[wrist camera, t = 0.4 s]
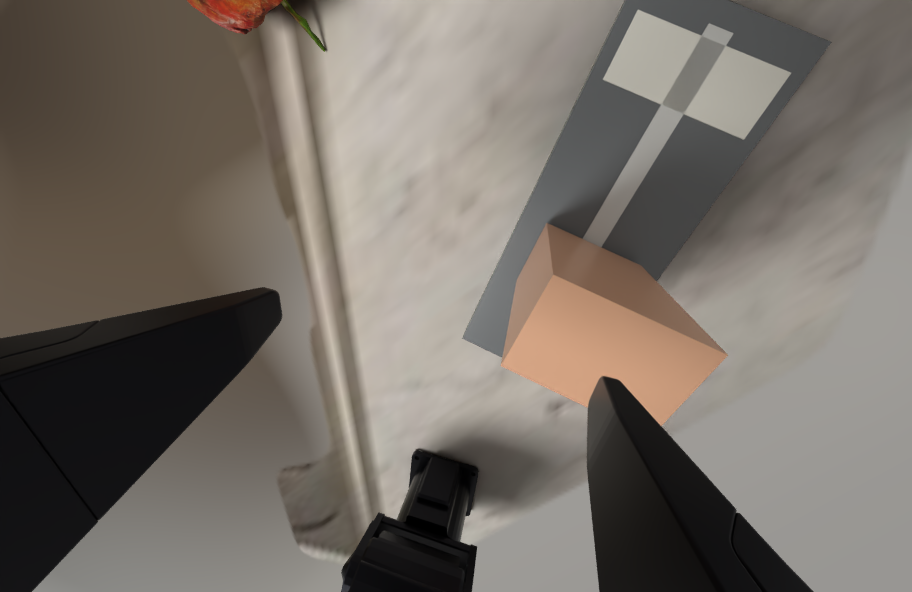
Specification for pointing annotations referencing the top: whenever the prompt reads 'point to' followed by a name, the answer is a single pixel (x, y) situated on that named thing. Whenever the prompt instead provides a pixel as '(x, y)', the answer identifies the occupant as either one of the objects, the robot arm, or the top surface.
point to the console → (654, 136)
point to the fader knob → (603, 327)
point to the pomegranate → (246, 14)
